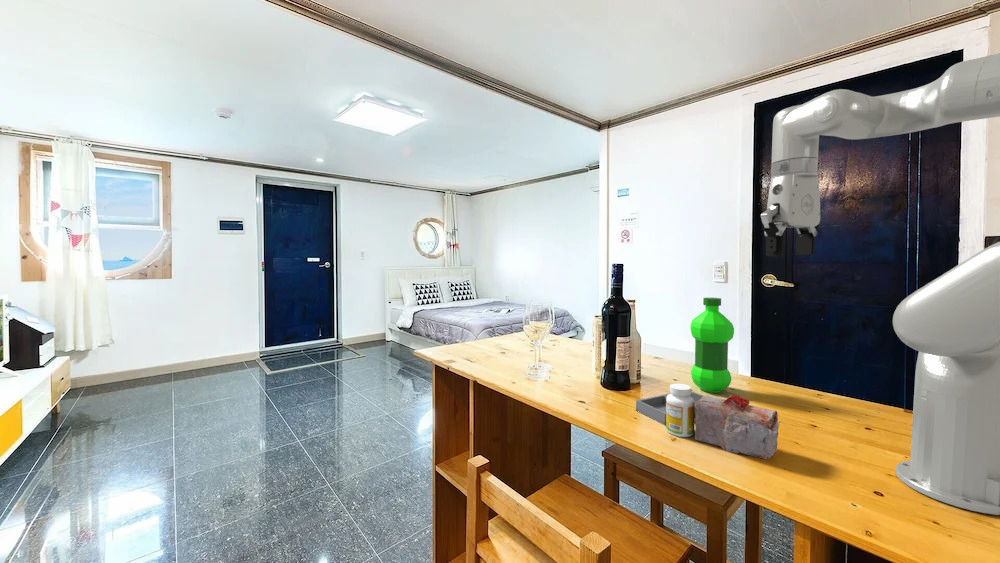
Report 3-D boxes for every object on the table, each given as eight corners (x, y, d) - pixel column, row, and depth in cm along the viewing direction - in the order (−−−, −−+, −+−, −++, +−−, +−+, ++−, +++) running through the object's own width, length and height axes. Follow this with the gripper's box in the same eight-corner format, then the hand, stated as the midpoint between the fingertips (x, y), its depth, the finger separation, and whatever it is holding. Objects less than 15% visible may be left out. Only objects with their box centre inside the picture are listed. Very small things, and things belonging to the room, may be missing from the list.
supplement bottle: (688, 426, 83) (689, 382, 82) (698, 438, 78) (699, 391, 77) (662, 425, 83) (662, 381, 83) (670, 437, 78) (671, 390, 77)
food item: (780, 450, 73) (782, 399, 72) (775, 468, 67) (777, 412, 66) (701, 429, 82) (702, 384, 81) (690, 443, 76) (691, 394, 75)
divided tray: (718, 411, 90) (718, 401, 90) (664, 425, 84) (664, 413, 84) (687, 399, 98) (687, 389, 98) (636, 410, 92) (636, 400, 92)
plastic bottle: (691, 393, 102) (692, 300, 101) (688, 381, 112) (690, 295, 110) (734, 398, 98) (737, 301, 97) (728, 385, 108) (730, 296, 106)
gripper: (785, 164, 71) (782, 256, 73) (840, 170, 78) (836, 255, 79) (746, 172, 78) (743, 256, 80) (800, 177, 85) (796, 255, 86)
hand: (790, 255), depth 79 cm, fingers open, 9 cm apart
